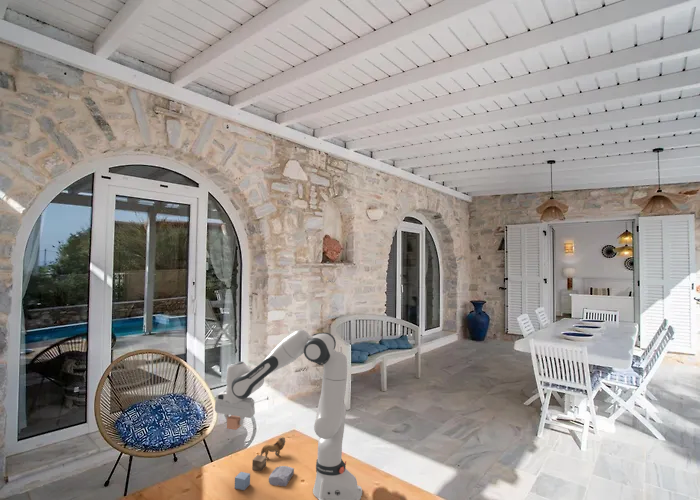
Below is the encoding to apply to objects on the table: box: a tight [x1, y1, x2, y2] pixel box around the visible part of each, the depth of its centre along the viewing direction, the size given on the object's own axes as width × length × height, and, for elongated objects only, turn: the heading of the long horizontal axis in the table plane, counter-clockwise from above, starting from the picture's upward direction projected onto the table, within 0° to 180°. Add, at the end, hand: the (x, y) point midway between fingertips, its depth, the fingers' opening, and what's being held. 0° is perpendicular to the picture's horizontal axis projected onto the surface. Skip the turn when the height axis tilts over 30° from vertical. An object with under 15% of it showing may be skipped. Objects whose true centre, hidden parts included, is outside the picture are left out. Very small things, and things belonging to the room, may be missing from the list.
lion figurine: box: [260, 436, 286, 460], centre depth 208 cm, size 15×5×9 cm, turn 124°
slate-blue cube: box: [234, 471, 251, 491], centre depth 181 cm, size 5×5×5 cm
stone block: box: [268, 465, 295, 487], centre depth 188 cm, size 12×5×10 cm
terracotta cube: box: [226, 415, 243, 431], centre depth 192 cm, size 5×5×5 cm
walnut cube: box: [251, 454, 267, 472], centre depth 197 cm, size 5×5×5 cm
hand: (234, 423), depth 192 cm, fingers closed on terracotta cube, 5 cm apart
